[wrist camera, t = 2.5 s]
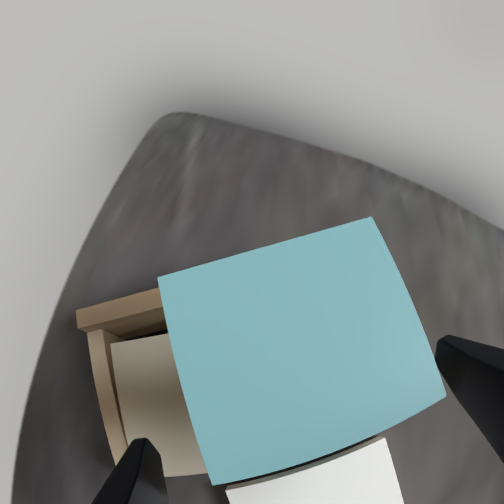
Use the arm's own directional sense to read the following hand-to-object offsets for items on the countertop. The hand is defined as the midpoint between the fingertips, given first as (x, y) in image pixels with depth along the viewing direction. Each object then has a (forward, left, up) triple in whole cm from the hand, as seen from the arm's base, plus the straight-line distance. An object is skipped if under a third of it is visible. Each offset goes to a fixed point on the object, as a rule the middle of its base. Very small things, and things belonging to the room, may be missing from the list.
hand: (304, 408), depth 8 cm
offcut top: (-2, +6, -8) cm, 10 cm away
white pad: (-7, -5, -9) cm, 13 cm away
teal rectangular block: (+1, +1, -9) cm, 9 cm away
